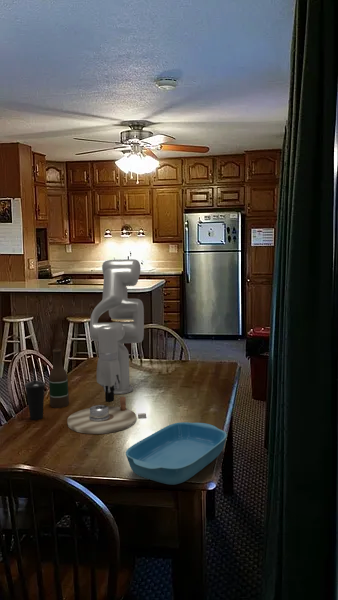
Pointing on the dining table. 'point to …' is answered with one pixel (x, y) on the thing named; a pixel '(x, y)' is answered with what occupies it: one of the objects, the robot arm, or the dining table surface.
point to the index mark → (142, 415)
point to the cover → (99, 413)
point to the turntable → (116, 422)
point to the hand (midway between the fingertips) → (109, 401)
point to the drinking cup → (35, 398)
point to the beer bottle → (58, 382)
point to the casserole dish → (176, 452)
